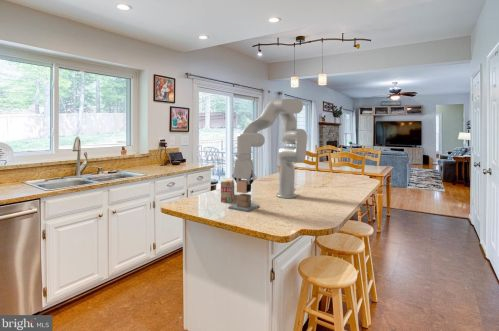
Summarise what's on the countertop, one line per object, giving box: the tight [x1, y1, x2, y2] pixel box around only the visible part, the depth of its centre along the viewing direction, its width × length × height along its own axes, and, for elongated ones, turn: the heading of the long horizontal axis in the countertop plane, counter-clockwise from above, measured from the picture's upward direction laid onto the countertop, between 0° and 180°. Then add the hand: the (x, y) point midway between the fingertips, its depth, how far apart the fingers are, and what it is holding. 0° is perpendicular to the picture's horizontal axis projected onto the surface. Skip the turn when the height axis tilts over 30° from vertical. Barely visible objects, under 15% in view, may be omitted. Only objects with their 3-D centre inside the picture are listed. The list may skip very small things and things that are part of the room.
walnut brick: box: [236, 193, 252, 208], centre depth 167 cm, size 6×6×6 cm
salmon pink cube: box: [236, 179, 252, 194], centre depth 166 cm, size 6×6×6 cm
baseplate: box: [228, 203, 260, 213], centre depth 167 cm, size 12×12×1 cm
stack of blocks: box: [220, 177, 235, 203], centre depth 190 cm, size 21×6×12 cm, turn 178°
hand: (243, 190), depth 166 cm, fingers closed on salmon pink cube, 5 cm apart
